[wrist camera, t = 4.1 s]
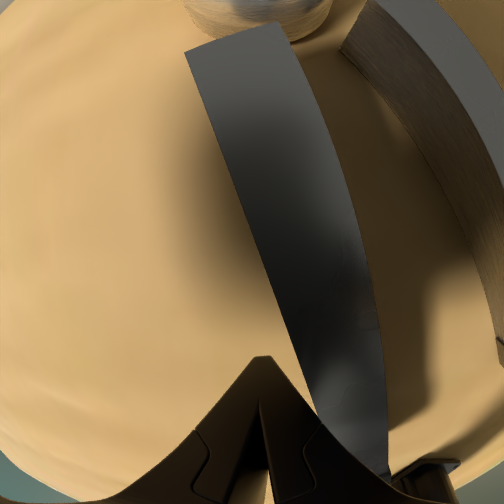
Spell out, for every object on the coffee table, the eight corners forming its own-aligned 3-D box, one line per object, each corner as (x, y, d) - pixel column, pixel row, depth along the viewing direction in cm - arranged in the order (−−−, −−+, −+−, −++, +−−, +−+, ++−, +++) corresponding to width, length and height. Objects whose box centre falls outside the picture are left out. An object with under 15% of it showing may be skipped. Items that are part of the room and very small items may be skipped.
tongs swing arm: (166, -17, 5) (130, -68, 2) (295, -51, 5) (300, -108, 2) (338, 458, 10) (346, 508, 7) (425, 426, 10) (445, 471, 7)
